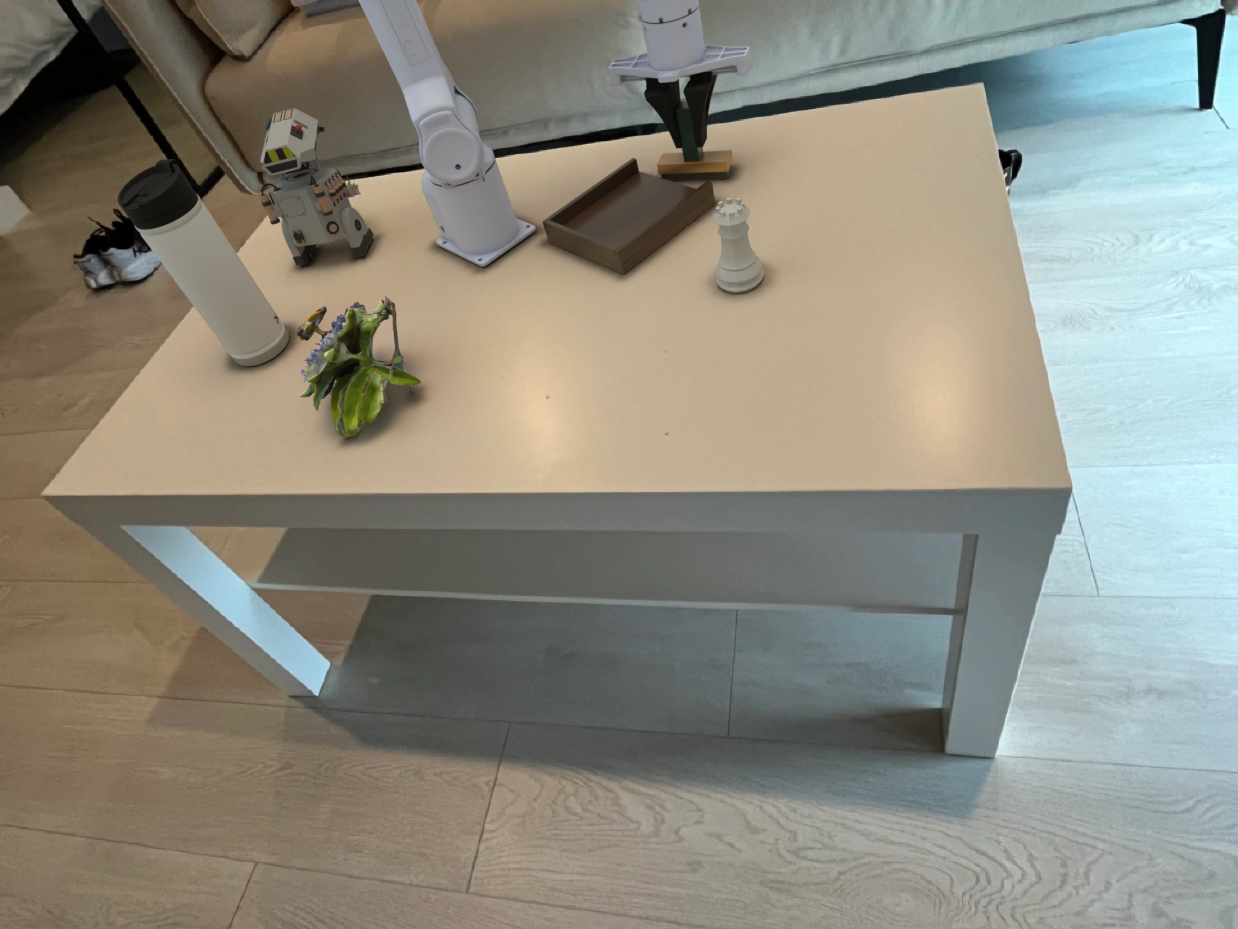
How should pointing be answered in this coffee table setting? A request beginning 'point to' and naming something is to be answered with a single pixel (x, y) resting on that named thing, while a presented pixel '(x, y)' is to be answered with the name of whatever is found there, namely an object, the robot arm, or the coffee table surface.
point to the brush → (693, 155)
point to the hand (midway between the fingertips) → (691, 143)
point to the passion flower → (352, 366)
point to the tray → (626, 217)
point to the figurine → (308, 190)
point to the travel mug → (203, 262)
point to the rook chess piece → (736, 249)
